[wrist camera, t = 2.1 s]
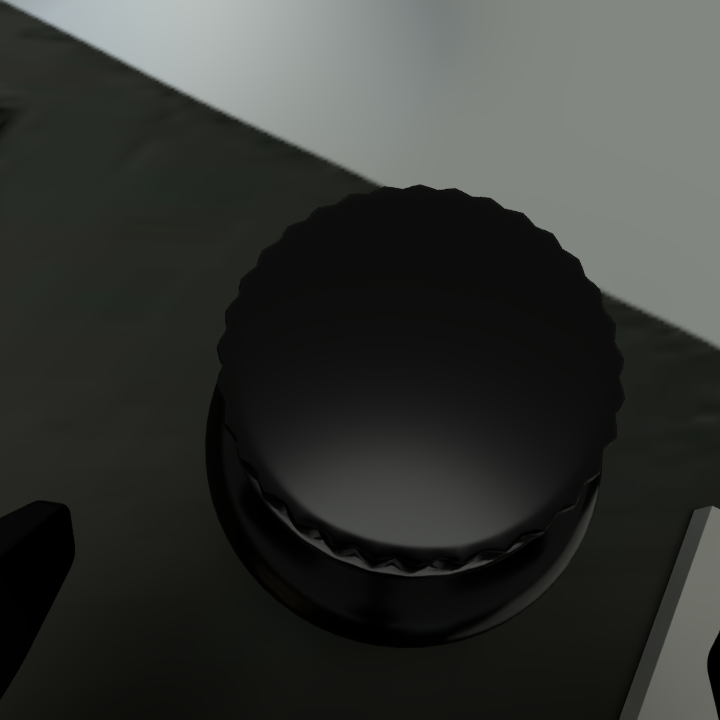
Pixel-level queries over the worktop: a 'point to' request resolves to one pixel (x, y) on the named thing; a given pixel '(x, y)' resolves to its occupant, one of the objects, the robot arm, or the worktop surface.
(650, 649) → the plate
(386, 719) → the worktop surface
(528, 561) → the supplement bottle
